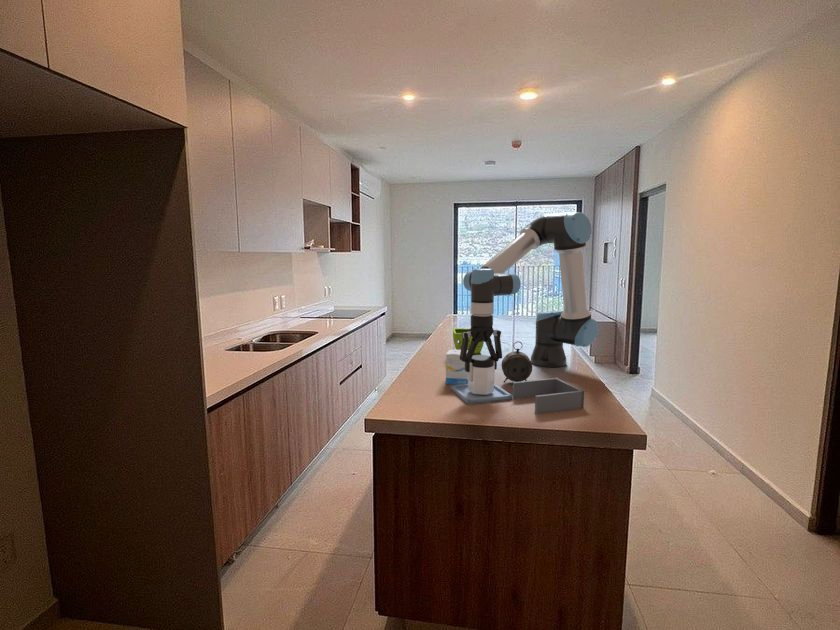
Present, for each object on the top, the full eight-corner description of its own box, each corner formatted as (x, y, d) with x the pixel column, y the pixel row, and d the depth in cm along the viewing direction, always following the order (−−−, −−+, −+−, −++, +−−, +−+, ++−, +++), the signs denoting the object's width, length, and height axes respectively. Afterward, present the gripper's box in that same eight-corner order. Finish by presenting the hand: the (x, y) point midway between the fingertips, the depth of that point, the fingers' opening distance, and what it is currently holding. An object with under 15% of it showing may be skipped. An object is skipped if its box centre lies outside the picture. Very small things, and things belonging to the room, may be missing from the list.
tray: (491, 385, 161) (491, 381, 160) (512, 399, 145) (512, 395, 145) (450, 389, 156) (450, 385, 156) (468, 404, 141) (468, 400, 141)
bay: (555, 392, 152) (556, 377, 151) (583, 407, 138) (584, 391, 137) (512, 397, 147) (513, 382, 146) (536, 413, 133) (537, 396, 132)
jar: (477, 385, 157) (478, 353, 155) (497, 390, 151) (498, 357, 150) (463, 391, 150) (464, 357, 148) (483, 396, 145) (485, 362, 143)
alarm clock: (529, 381, 165) (531, 340, 162) (532, 386, 159) (534, 343, 157) (500, 381, 165) (502, 339, 163) (502, 385, 160) (503, 342, 158)
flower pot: (484, 361, 195) (485, 333, 193) (453, 361, 195) (454, 333, 193) (480, 353, 208) (481, 327, 206) (451, 353, 209) (452, 327, 207)
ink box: (468, 385, 160) (468, 355, 158) (445, 384, 162) (445, 354, 160) (470, 378, 169) (470, 349, 167) (448, 377, 170) (448, 348, 168)
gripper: (503, 311, 153) (502, 373, 156) (449, 314, 147) (449, 379, 151) (514, 314, 146) (512, 379, 149) (457, 317, 140) (457, 385, 143)
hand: (480, 379), depth 150 cm, fingers closed on jar, 8 cm apart
